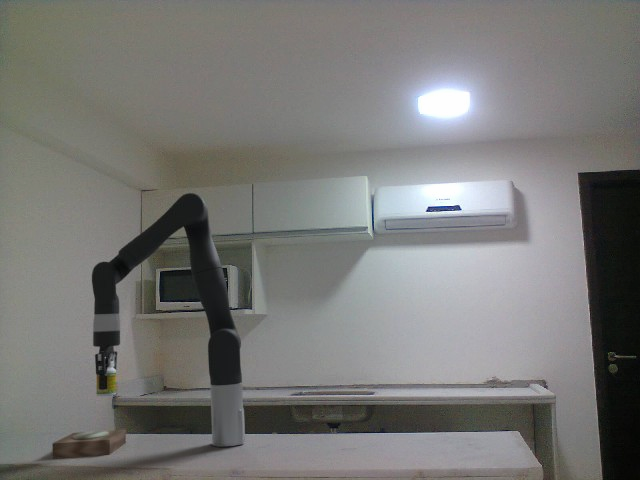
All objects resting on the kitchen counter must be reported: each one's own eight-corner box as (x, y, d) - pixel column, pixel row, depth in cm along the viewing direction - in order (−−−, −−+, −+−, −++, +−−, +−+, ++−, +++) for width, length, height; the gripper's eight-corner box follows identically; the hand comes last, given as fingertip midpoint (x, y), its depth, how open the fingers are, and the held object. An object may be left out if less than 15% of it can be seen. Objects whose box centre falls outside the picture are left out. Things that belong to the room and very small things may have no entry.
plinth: (125, 442, 188) (125, 427, 189) (109, 454, 172) (109, 437, 173) (73, 446, 188) (73, 431, 188) (52, 458, 172) (52, 441, 172)
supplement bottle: (109, 396, 174) (110, 361, 175) (92, 396, 175) (93, 362, 176) (119, 393, 179) (119, 360, 180) (102, 394, 180) (102, 360, 181)
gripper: (112, 329, 173) (112, 390, 170) (126, 328, 187) (125, 385, 185) (85, 330, 172) (85, 392, 170) (101, 329, 186) (100, 386, 184)
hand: (106, 388), depth 177 cm, fingers closed on supplement bottle, 5 cm apart
